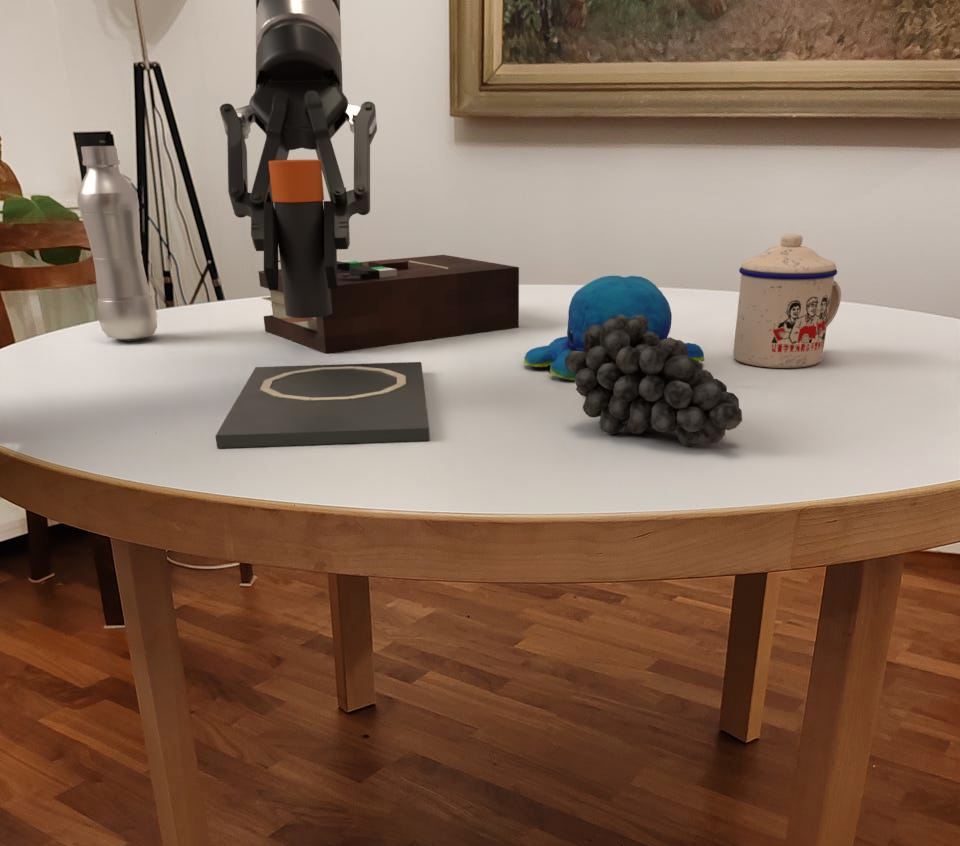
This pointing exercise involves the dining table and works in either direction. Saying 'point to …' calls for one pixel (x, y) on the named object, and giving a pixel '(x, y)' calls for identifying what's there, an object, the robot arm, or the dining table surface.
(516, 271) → the decorative book
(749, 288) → the teacup with lid
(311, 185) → the marker
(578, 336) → the plush toy
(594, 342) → the fruit
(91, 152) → the metal water bottle
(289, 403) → the slate board
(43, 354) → the dining table surface
